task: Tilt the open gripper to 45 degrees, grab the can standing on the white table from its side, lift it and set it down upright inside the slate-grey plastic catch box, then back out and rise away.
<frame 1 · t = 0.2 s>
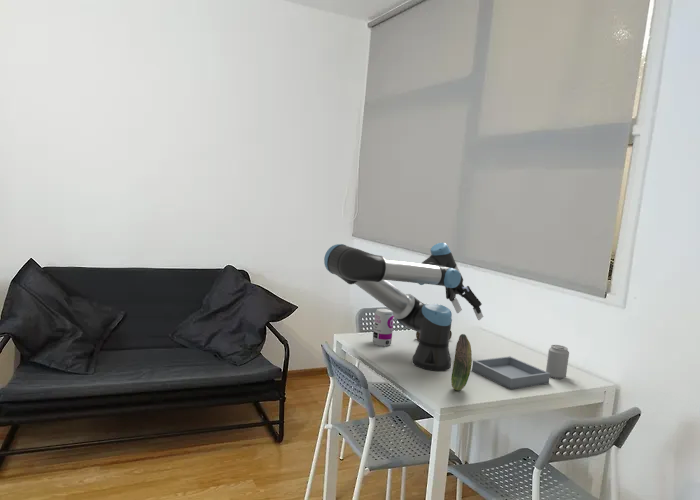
hand: (469, 314, 228), 16 cm above the table, tool tilted 35°, fingers open, 13 cm apart
kendama: (434, 339, 243), on the table
vegetable: (459, 390, 180), on the table
can: (555, 376, 204), on the table
supplement can: (381, 344, 228), on the table
catch box: (509, 376, 198), on the table
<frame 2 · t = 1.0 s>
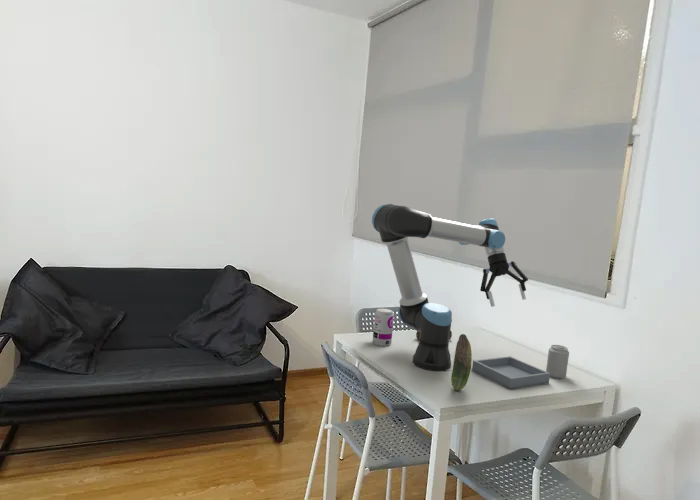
hand: (508, 303, 218), 24 cm above the table, tool tilted 25°, fingers open, 13 cm apart
nothing on the table moved.
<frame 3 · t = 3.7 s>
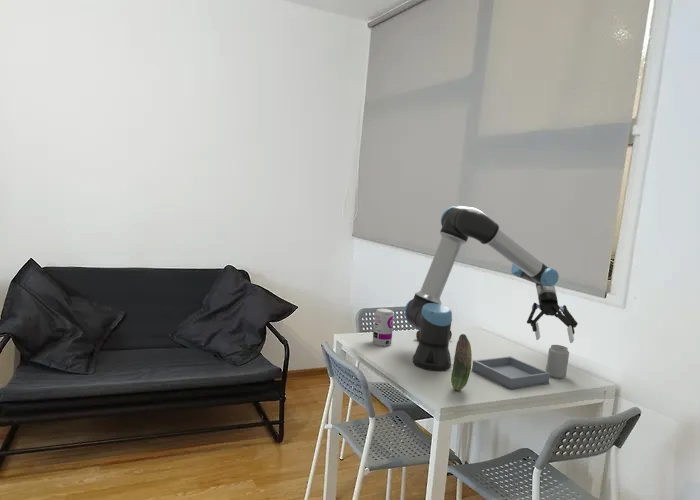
hand: (555, 339, 210), 12 cm above the table, tool tilted 45°, fingers open, 13 cm apart
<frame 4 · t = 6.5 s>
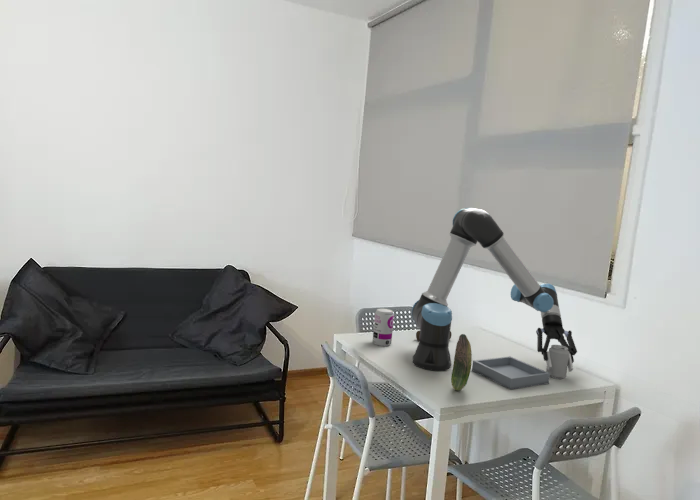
hand: (560, 369, 200), 4 cm above the table, tool tilted 45°, fingers closed on can, 7 cm apart
can: (555, 376, 204), on the table, touching gripper
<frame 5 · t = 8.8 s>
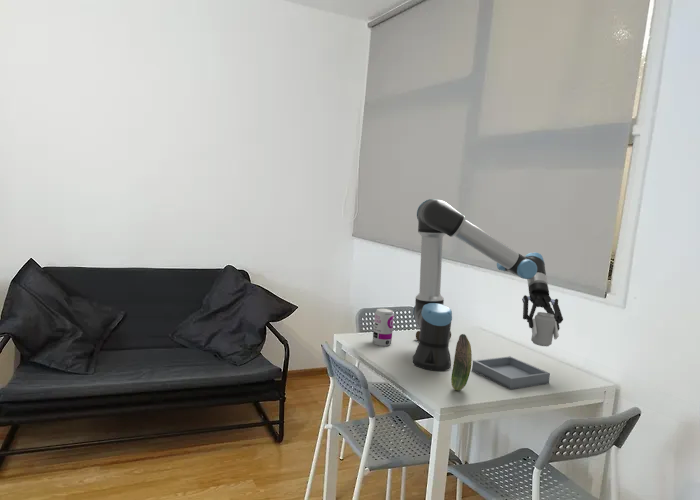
hand: (545, 336, 196), 17 cm above the table, tool tilted 45°, fingers closed on can, 7 cm apart
can: (540, 344, 200), point 13 cm above the table, touching gripper
when the fingers open (6 cm above the table, at t = 11.8 s): can drops 1 cm, resting on catch box.
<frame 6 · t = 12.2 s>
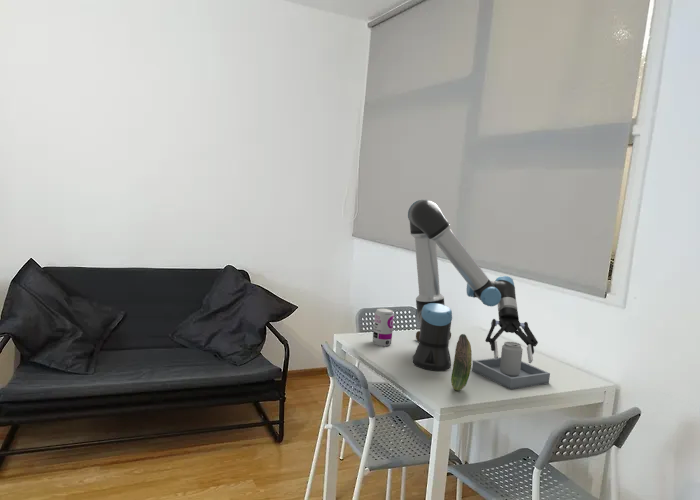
hand: (513, 360, 195), 7 cm above the table, tool tilted 45°, fingers open, 12 cm apart
can: (509, 374, 199), point 1 cm above the table, touching catch box
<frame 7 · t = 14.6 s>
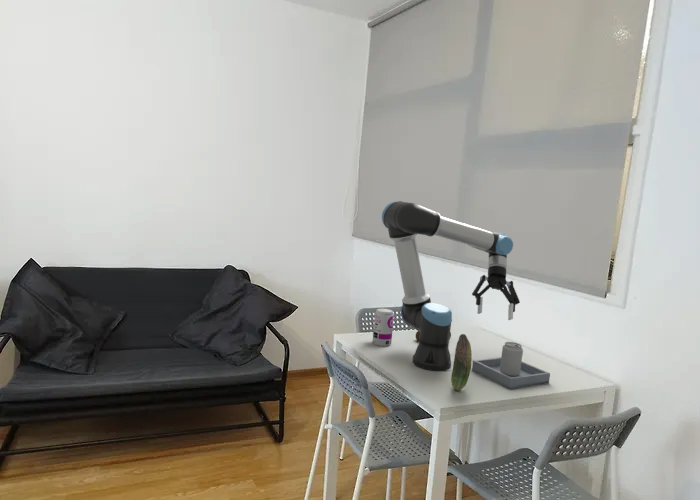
hand: (495, 316, 213), 19 cm above the table, tool tilted 30°, fingers open, 13 cm apart
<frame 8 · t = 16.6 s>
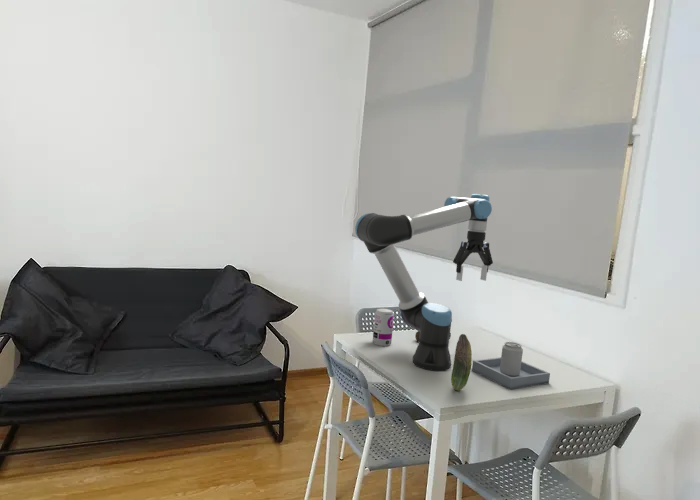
hand: (471, 280, 222), 32 cm above the table, tool pointing down, fingers open, 13 cm apart
at the end: can inside the target area on the catch box (0.2 cm from its centre), point 0.8 cm above the catch box's base; can tilted 0°; the gripper is holding nothing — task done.
